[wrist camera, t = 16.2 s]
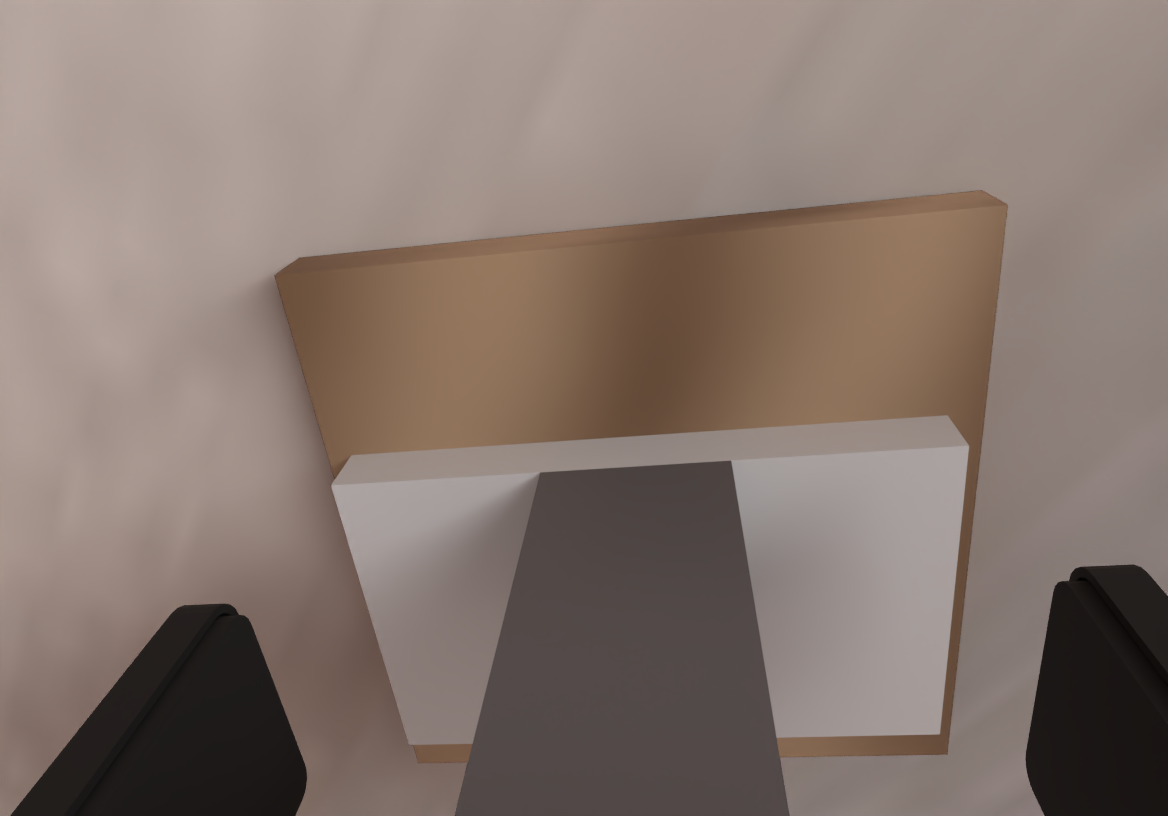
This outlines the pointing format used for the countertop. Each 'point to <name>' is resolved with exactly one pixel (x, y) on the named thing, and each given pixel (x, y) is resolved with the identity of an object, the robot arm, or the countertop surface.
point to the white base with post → (660, 605)
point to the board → (664, 344)
